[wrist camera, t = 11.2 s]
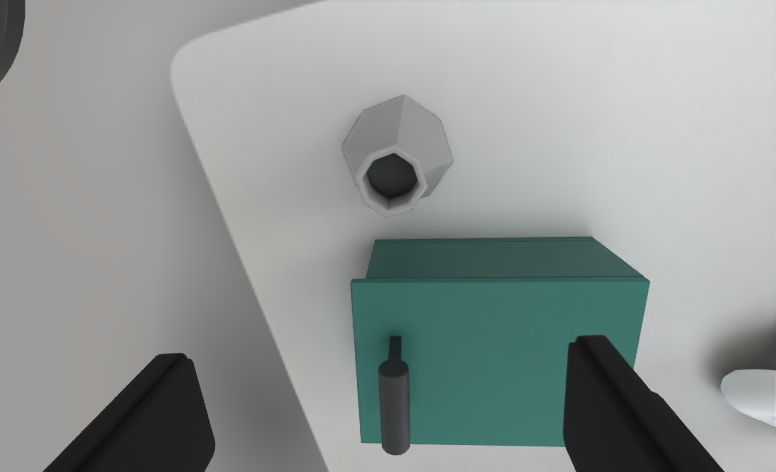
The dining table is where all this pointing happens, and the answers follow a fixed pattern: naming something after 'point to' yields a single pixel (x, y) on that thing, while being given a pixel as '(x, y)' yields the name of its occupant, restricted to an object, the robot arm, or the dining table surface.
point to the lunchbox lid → (479, 354)
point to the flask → (396, 155)
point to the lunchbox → (495, 258)
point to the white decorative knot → (752, 393)
